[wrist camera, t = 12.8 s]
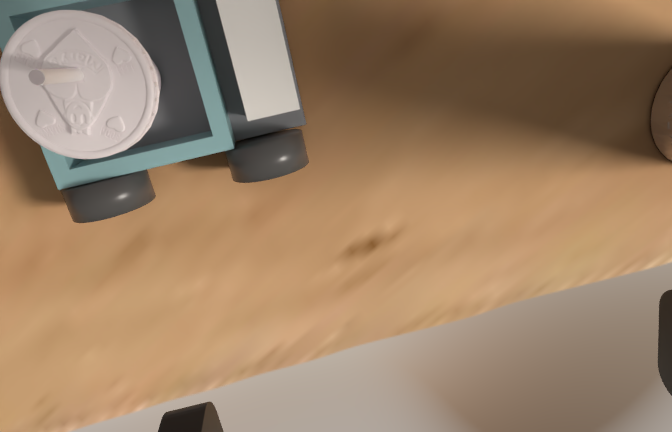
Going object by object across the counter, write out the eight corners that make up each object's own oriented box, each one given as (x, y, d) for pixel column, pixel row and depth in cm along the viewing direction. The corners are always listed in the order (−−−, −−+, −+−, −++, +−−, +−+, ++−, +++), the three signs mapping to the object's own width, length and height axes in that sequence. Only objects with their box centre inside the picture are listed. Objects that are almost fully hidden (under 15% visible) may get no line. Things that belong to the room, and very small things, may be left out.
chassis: (258, -82, 30) (260, -108, 25) (311, 152, 35) (321, 166, 30) (-15, -29, 29) (-66, -46, 24) (79, 207, 33) (51, 231, 29)
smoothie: (184, 30, 30) (131, 5, 17) (184, 135, 32) (136, 186, 19) (70, 19, 29) (-80, -17, 16) (77, 129, 31) (-53, 178, 18)
